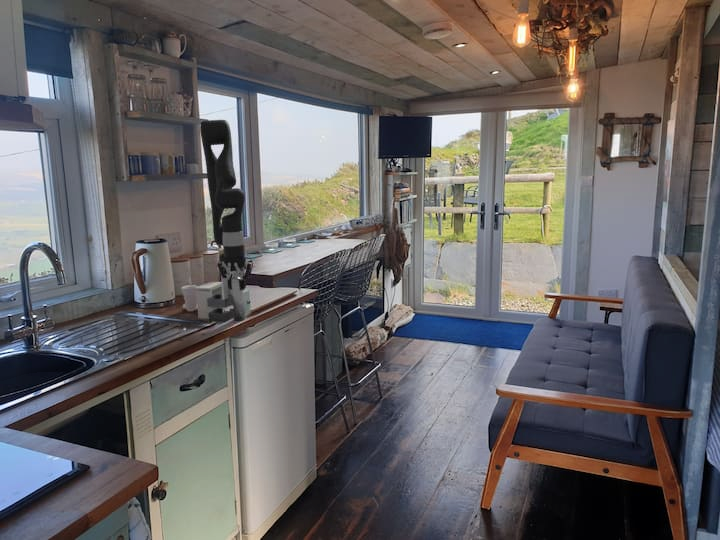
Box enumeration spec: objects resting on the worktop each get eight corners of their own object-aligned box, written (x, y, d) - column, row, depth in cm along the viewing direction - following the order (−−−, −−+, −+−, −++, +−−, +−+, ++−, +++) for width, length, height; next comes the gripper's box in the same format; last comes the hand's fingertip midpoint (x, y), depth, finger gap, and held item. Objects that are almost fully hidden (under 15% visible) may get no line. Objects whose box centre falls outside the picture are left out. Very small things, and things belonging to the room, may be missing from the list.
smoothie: (197, 312, 215) (193, 277, 212) (181, 312, 215) (177, 278, 212) (202, 307, 221) (198, 274, 218) (186, 308, 221) (183, 274, 219)
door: (232, 320, 202) (228, 278, 198) (244, 313, 211) (241, 273, 208) (242, 321, 201) (238, 279, 197) (254, 313, 210) (251, 273, 207)
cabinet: (211, 310, 216) (209, 281, 213) (241, 312, 213) (239, 282, 210) (194, 320, 204) (191, 289, 201) (226, 321, 201) (223, 290, 198)
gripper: (255, 242, 199) (259, 287, 202) (221, 242, 203) (224, 286, 206) (246, 245, 192) (250, 292, 195) (210, 245, 195) (214, 291, 199)
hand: (237, 289), depth 201 cm, fingers closed on door, 4 cm apart
